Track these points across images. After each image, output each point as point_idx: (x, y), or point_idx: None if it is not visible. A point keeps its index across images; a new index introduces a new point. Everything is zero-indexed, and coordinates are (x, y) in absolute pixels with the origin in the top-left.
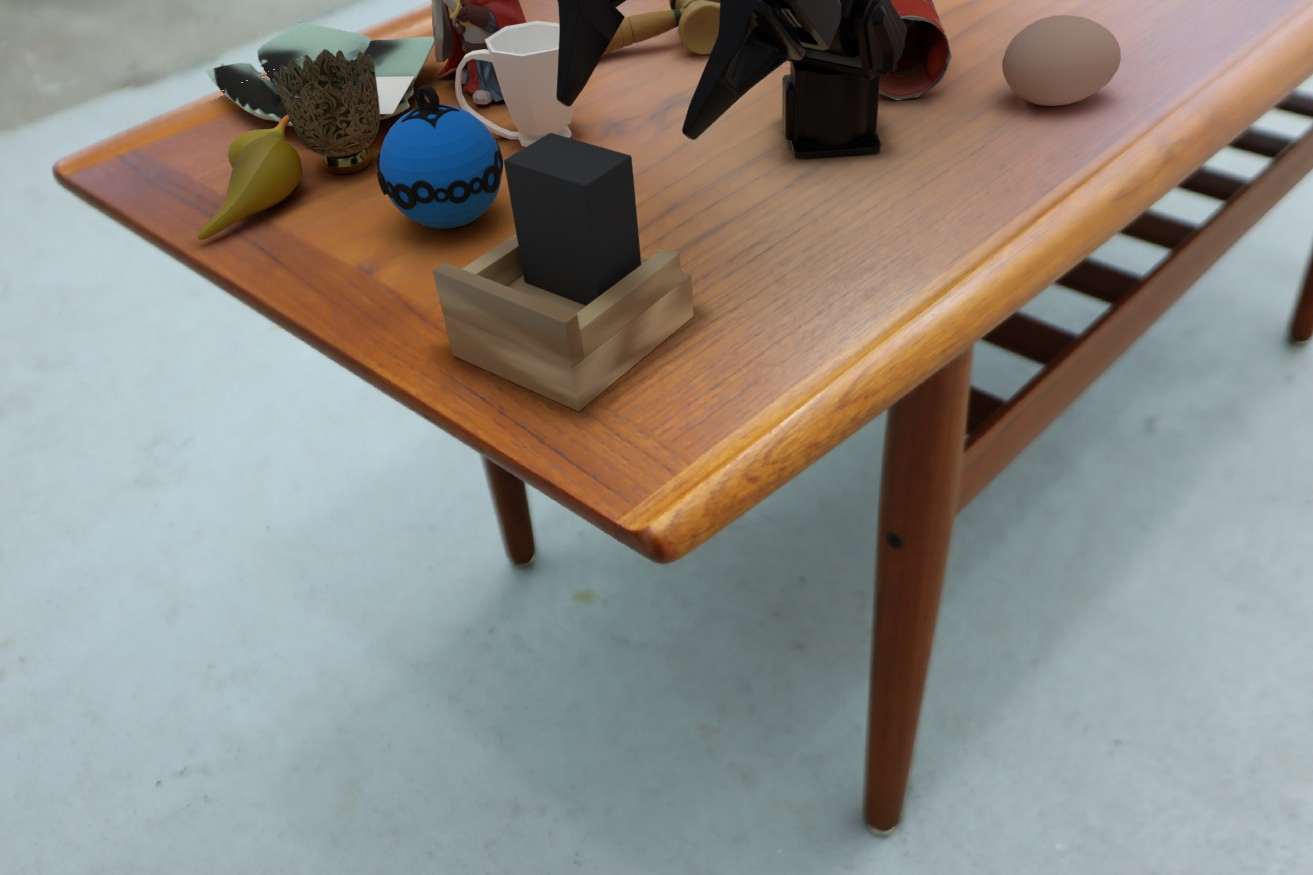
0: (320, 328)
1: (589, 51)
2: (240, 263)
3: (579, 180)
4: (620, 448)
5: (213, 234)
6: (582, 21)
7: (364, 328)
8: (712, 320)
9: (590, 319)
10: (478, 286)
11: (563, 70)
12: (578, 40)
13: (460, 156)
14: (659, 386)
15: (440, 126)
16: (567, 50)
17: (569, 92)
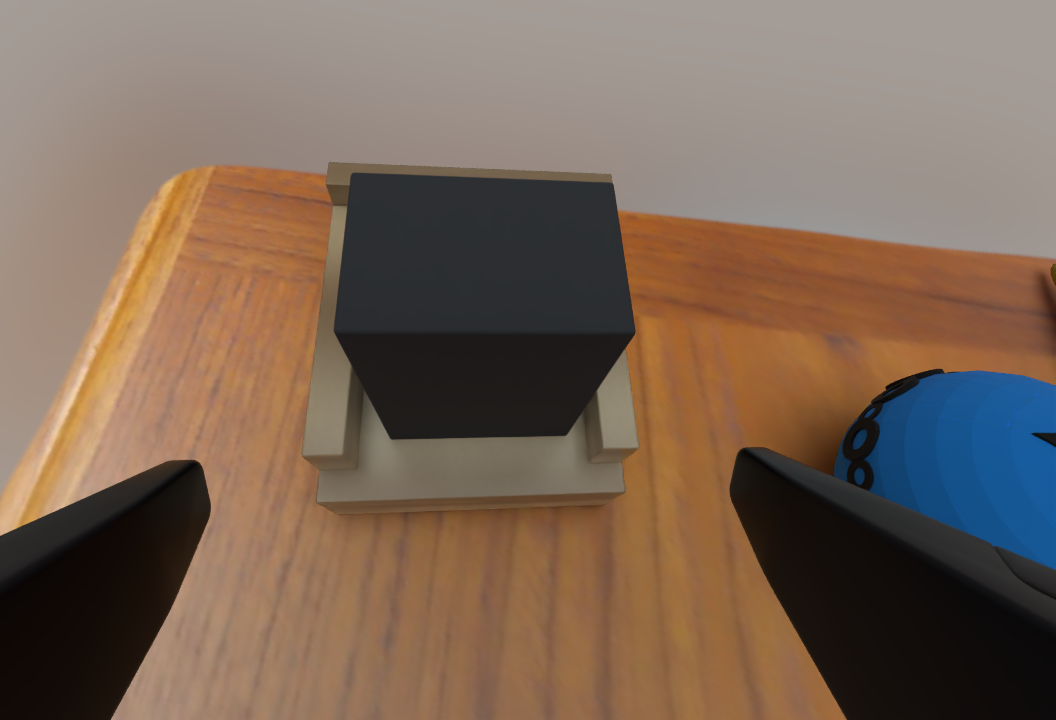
0: (754, 231)
1: (887, 677)
2: (967, 271)
3: (377, 178)
4: (275, 240)
5: (1053, 278)
6: (1048, 688)
7: (714, 254)
8: (302, 524)
9: (333, 227)
10: (516, 172)
11: (822, 483)
12: (927, 602)
13: (925, 452)
14: (293, 348)
15: (1033, 445)
16: (893, 522)
17: (755, 493)
